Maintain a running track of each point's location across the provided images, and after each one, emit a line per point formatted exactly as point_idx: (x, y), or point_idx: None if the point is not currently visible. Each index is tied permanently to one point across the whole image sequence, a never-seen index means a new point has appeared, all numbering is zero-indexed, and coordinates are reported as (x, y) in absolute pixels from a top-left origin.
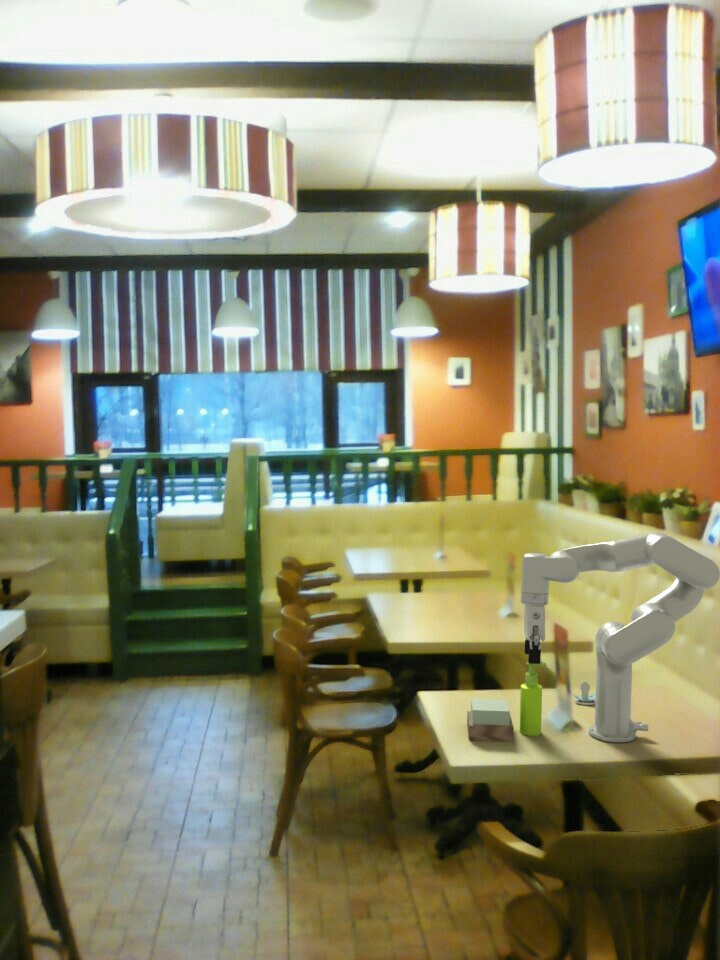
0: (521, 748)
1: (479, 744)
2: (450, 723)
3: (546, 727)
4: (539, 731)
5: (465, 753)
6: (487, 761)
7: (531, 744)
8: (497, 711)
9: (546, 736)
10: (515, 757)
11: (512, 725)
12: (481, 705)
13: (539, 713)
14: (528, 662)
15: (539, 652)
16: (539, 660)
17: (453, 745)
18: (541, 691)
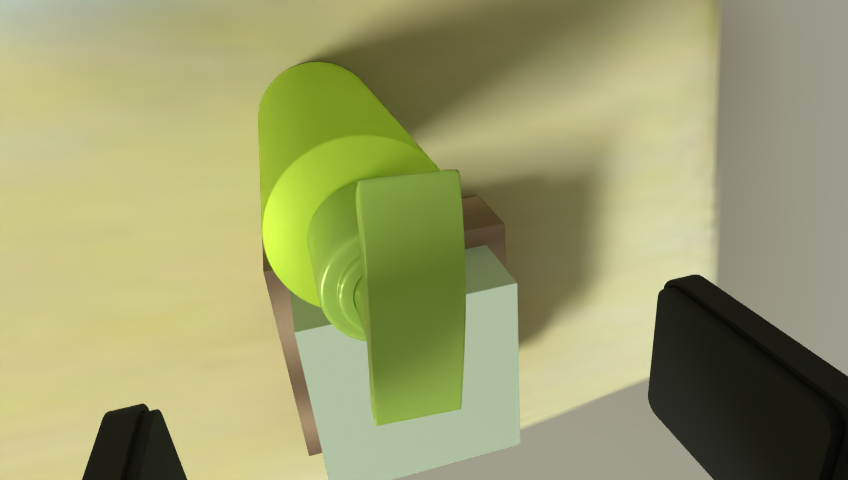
0: (554, 152)
1: (527, 318)
2: (304, 464)
3: (203, 27)
4: (353, 74)
5: (619, 343)
6: (689, 263)
7: (500, 108)
8: (517, 340)
9: (367, 29)
10: (653, 168)
11: (478, 231)
12: (441, 428)
13: (375, 99)
14: (433, 401)
15: (830, 387)
16: (724, 304)
17: (547, 395)
18: (385, 129)
